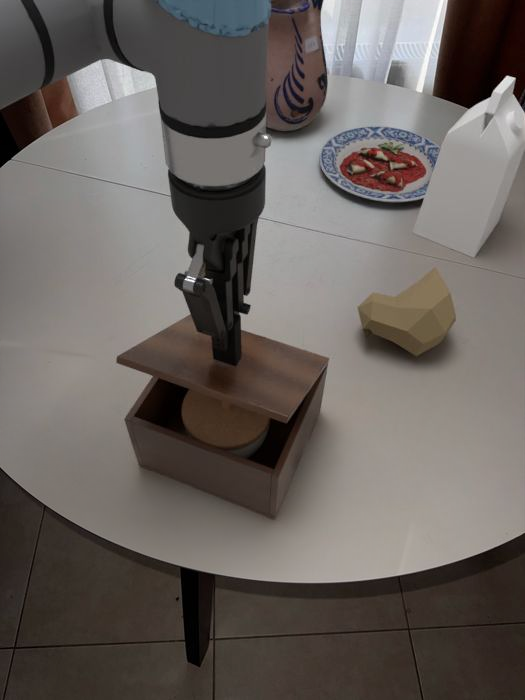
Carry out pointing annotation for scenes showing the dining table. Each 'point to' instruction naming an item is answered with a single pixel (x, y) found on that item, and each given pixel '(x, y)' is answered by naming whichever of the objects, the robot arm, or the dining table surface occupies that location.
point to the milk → (474, 173)
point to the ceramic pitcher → (295, 64)
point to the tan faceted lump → (411, 314)
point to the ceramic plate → (380, 163)
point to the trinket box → (223, 424)
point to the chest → (216, 464)
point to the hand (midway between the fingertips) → (227, 357)
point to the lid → (230, 368)
